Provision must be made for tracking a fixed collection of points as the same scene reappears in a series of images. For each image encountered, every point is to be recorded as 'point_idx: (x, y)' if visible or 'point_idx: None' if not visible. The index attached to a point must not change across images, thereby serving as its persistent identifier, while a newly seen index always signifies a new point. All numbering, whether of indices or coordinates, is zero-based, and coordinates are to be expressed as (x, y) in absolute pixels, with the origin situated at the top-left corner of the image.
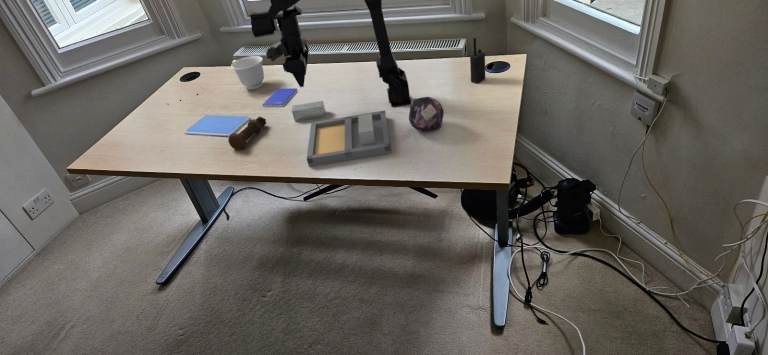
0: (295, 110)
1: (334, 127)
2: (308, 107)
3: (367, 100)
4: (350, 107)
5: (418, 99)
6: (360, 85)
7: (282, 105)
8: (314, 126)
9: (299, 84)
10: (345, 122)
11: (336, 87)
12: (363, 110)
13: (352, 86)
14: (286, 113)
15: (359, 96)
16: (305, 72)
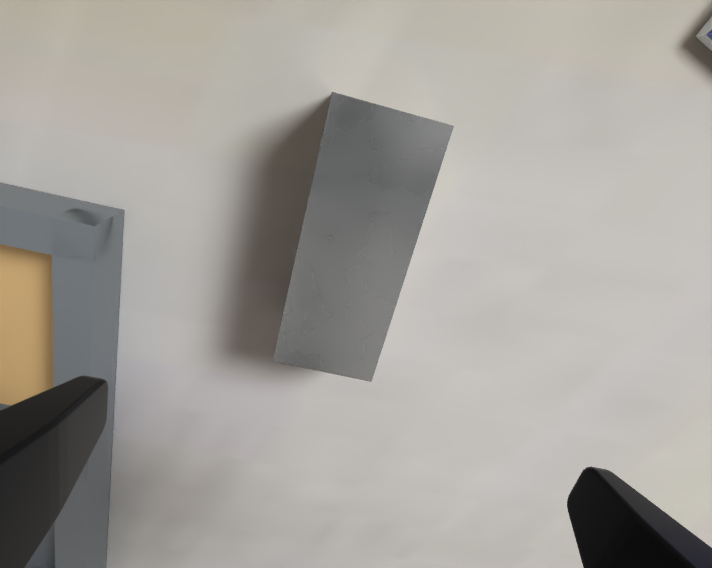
0: (324, 132)
1: (36, 351)
2: (317, 258)
3: (355, 548)
4: (324, 466)
5: None
6: (569, 556)
7: (708, 28)
8: (10, 238)
9: (28, 411)
10: None
11: (663, 452)
12: (245, 511)
13: None
14: (532, 43)
15: (433, 528)
16: (583, 543)
